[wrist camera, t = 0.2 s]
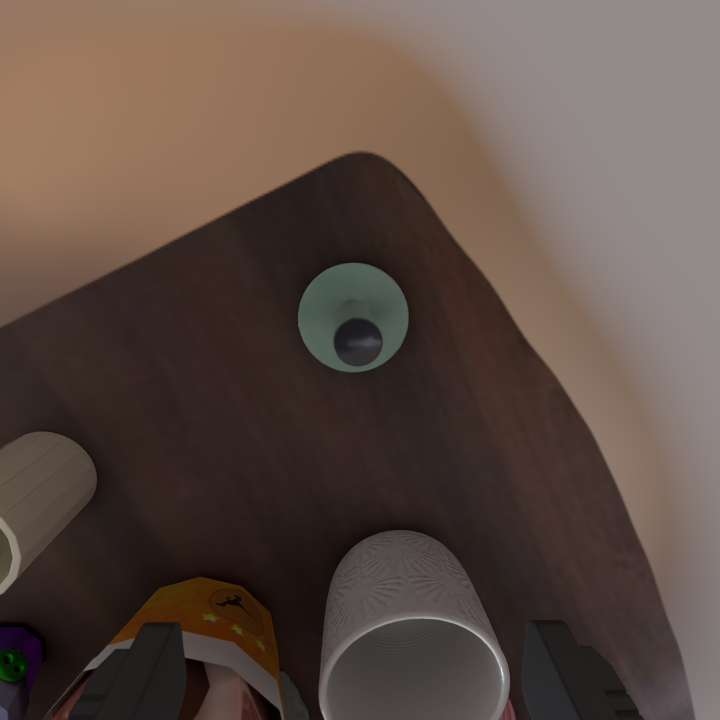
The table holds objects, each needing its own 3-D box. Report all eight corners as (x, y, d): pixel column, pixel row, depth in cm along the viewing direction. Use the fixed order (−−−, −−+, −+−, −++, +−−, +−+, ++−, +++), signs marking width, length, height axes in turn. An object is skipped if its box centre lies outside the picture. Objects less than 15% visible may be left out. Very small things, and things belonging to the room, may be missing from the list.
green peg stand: (295, 264, 34) (280, 273, 26) (405, 259, 35) (429, 266, 26) (303, 370, 36) (291, 413, 28) (407, 365, 37) (429, 406, 28)
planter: (363, 656, 43) (371, 792, 32) (297, 551, 40) (283, 663, 29) (488, 600, 42) (539, 722, 32) (431, 488, 39) (465, 581, 29)
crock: (-10, 433, 37) (-127, 499, 27) (88, 428, 37) (4, 492, 28) (11, 519, 38) (-92, 607, 29) (104, 513, 39) (31, 599, 29)
